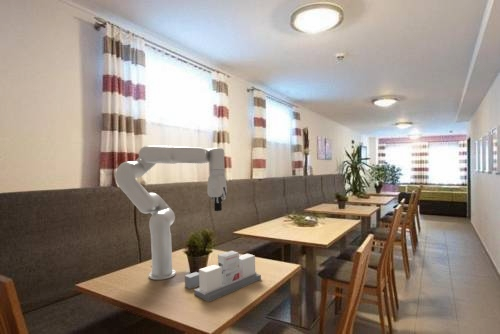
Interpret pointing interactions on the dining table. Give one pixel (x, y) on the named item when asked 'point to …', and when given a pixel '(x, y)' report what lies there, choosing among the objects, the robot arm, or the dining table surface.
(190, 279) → the block
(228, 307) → the dining table surface
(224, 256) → the ink box
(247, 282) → the rail panel
